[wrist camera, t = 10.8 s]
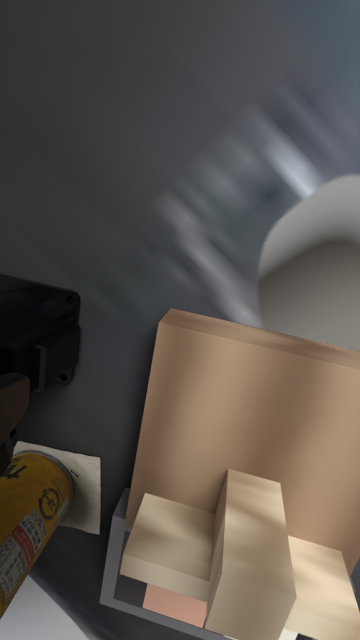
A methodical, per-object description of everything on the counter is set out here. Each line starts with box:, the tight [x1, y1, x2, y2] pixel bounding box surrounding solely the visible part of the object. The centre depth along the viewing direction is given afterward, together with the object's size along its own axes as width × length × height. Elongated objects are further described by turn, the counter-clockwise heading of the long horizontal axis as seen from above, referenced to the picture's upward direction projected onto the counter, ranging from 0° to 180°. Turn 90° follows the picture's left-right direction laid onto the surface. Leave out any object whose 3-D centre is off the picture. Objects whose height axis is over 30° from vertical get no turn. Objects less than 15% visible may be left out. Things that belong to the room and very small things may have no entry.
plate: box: [124, 308, 360, 577], centre depth 20 cm, size 14×14×3 cm
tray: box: [99, 487, 355, 640], centre depth 24 cm, size 16×9×2 cm, turn 80°
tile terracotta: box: [143, 583, 207, 628], centre depth 23 cm, size 4×4×2 cm
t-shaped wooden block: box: [120, 469, 360, 640], centre depth 17 cm, size 12×5×6 cm, turn 80°
